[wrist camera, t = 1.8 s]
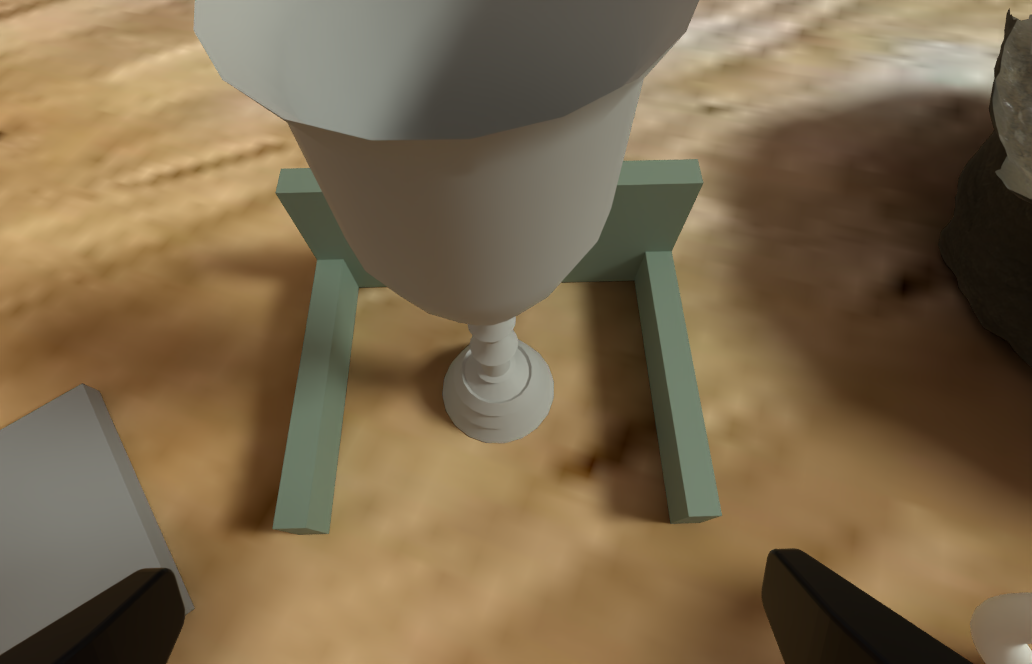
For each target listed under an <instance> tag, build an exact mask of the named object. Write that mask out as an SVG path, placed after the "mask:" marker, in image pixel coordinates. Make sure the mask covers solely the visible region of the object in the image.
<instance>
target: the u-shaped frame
mask: <svg viewBox="0 0 1032 664" xmlns="http://www.w3.org/2000/svg"><path fill="white" fill-rule="evenodd" d="M702 185H703V180H702V175H701V171H700V167H699V163H698V159H689V160H645V161H623V163H622V167H621V171H620V175H619V179H618V183H617V187H616V191H615V195H614V199H613V203H612V207H611V210H610V213H609V215H608V217H607V220H606V222H605V225H604V227H603V229H602V232H601V234H600V237H599V239H598V241H597V243H596V244H595V245H594V246H593V247H592V248H591V249H590V250H589V252H588V253H587V254H586V255H585V256H584V257H583V258H582V259H581V260H580V262H579V263H578V264H577V265H576V266H575V267H574V268H573V269H572V271H571V272H570V273H569V274H568V275H567V276H566V277H565V278H564V279H563V281H562V282H595V281H635V288H636V295H637V301H638V308H639V315H640V321H641V328H642V335H643V342H644V348H645V355H646V362H647V369H648V375H649V382H650V389H651V396H652V402H653V409H654V416H655V422H656V429H657V436H658V443H659V449H660V456H661V463H662V470H663V476H664V483H665V490H666V496H667V503H668V510H669V517H670V523H671V524H676V523H701V522H704V521H707V520H710V519H713V518H716V517H719V516H722V513H721V508H720V503H719V497H718V492H717V487H716V482H715V476H714V471H713V466H712V461H711V455H710V450H709V445H708V440H707V434H706V429H705V424H704V419H703V413H702V408H701V403H700V398H699V392H698V387H697V382H696V377H695V371H694V366H693V361H692V356H691V350H690V345H689V340H688V335H687V329H686V324H685V319H684V314H683V308H682V303H681V298H680V293H679V287H678V282H677V277H676V272H675V266H674V261H673V256H672V249H673V247H674V245H675V243H676V241H677V239H678V236H679V234H680V232H681V230H682V228H683V226H684V224H685V221H686V219H687V217H688V215H689V213H690V211H691V209H692V206H693V204H694V202H695V200H696V198H697V196H698V194H699V191H700V189H701V187H702ZM276 195H277V196H278V198H279V199H280V201H281V203H282V204H283V206H284V207H285V209H286V211H287V212H288V214H289V215H290V217H291V219H292V220H293V222H294V223H295V225H296V227H297V228H298V230H299V232H300V233H301V235H302V236H303V238H304V240H305V241H306V243H307V244H308V246H309V248H310V249H311V251H312V252H313V254H314V256H315V257H316V259H317V264H316V270H315V276H314V282H313V288H312V294H311V300H310V306H309V312H308V318H307V324H306V330H305V336H304V342H303V348H302V354H301V360H300V366H299V372H298V378H297V384H296V390H295V396H294V402H293V408H292V414H291V420H290V426H289V432H288V438H287V444H286V451H285V457H284V463H283V469H282V475H281V481H280V487H279V493H278V499H277V505H276V511H275V517H274V523H273V529H275V530H280V531H284V532H289V533H293V534H298V535H306V534H329V529H330V520H331V512H332V504H333V496H334V487H335V479H336V471H337V463H338V454H339V446H340V438H341V430H342V422H343V413H344V405H345V397H346V389H347V380H348V372H349V364H350V356H351V347H352V339H353V331H354V323H355V314H356V306H357V298H358V290H359V287H387V286H385V285H384V284H383V283H381V282H380V281H378V280H377V279H376V278H374V277H373V276H371V275H370V274H369V273H367V272H366V271H365V270H364V268H363V266H362V265H361V263H360V262H359V260H358V258H357V257H356V255H355V253H354V252H353V250H352V249H351V247H350V245H349V244H348V242H347V240H346V239H345V237H344V235H343V233H342V231H341V229H340V227H339V225H338V223H337V221H336V219H335V217H334V215H333V213H332V211H331V209H330V207H329V205H328V203H327V201H326V199H325V197H324V195H323V193H322V191H321V189H320V187H319V185H318V183H317V181H316V179H315V177H314V175H313V173H312V171H311V169H310V168H296V169H281V171H280V176H279V180H278V185H277V189H276Z"/></svg>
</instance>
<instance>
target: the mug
mask: <svg viewBox="0 0 1032 664" xmlns="http://www.w3.org/2000/svg"><path fill="white" fill-rule="evenodd" d="M970 628H971V635H972V639H973V642H974V644H975V647H976V650H977V651H978V653H979V655H980V656H981V658H982V659H983V661H984V662H985V664H1032V651H1031V650H1030V648H1029V646H1028V645H1027V644H1032V593H1012V594H1003V595H998V596H995V597H991V598H989V599H987V600H986V601H984V602H983V603H982V604H980V605H979V606H978V607H976V608H975V611H974V613H973V615H972V618H971V621H970Z"/></svg>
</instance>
